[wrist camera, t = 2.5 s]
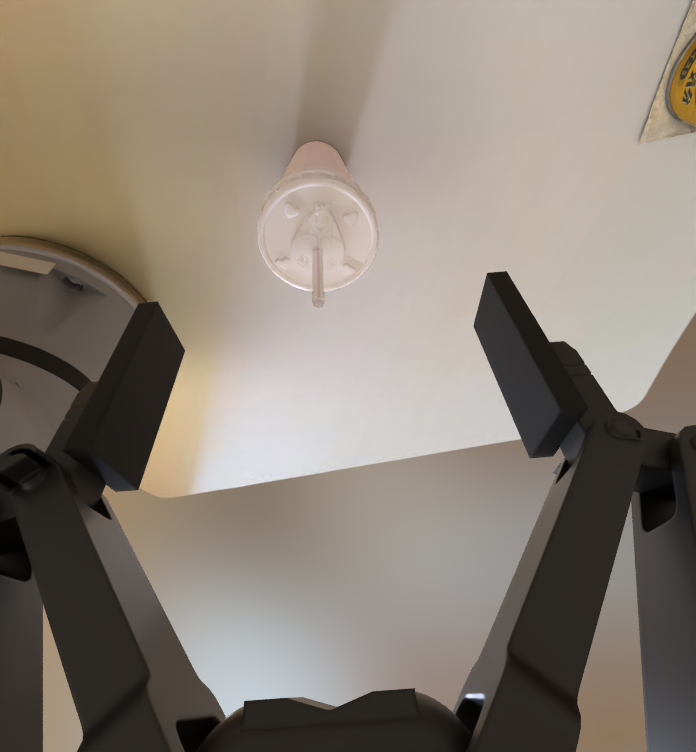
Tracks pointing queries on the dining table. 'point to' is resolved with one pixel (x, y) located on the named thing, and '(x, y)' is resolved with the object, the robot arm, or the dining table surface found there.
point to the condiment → (676, 89)
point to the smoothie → (317, 224)
